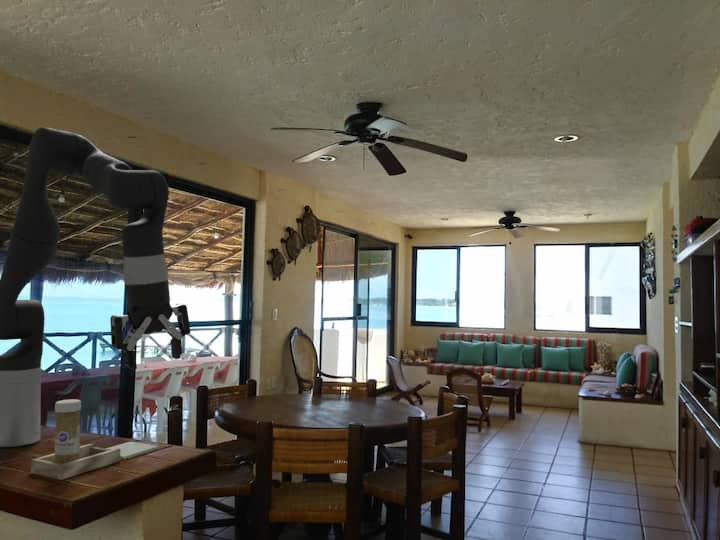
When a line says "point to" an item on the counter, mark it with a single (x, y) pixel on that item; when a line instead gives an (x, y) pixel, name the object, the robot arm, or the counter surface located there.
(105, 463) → the rectangular wooden frame
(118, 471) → the counter surface
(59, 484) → the counter surface
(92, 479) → the counter surface
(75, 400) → the sprinkles bottle
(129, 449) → the pad
